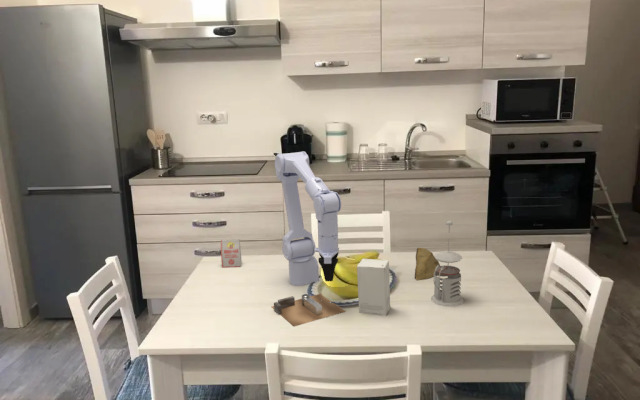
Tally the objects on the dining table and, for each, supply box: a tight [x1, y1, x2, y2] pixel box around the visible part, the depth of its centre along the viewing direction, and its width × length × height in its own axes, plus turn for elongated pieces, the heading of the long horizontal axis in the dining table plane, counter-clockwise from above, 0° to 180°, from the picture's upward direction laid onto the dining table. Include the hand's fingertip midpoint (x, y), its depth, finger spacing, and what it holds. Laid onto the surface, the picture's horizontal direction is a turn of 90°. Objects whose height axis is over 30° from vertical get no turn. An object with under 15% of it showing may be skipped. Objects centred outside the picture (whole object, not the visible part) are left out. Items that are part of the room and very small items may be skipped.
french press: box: [430, 220, 464, 307], centre depth 155 cm, size 10×12×25 cm
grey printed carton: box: [220, 239, 243, 269], centre depth 192 cm, size 4×7×10 cm, turn 91°
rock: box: [414, 247, 441, 281], centre depth 177 cm, size 11×9×10 cm
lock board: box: [271, 293, 347, 327], centre depth 153 cm, size 17×15×4 cm
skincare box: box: [356, 258, 391, 316], centre depth 150 cm, size 8×7×16 cm
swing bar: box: [301, 293, 322, 315], centre depth 153 cm, size 9×2×3 cm, turn 30°
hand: (329, 278), depth 154 cm, fingers open, 3 cm apart
